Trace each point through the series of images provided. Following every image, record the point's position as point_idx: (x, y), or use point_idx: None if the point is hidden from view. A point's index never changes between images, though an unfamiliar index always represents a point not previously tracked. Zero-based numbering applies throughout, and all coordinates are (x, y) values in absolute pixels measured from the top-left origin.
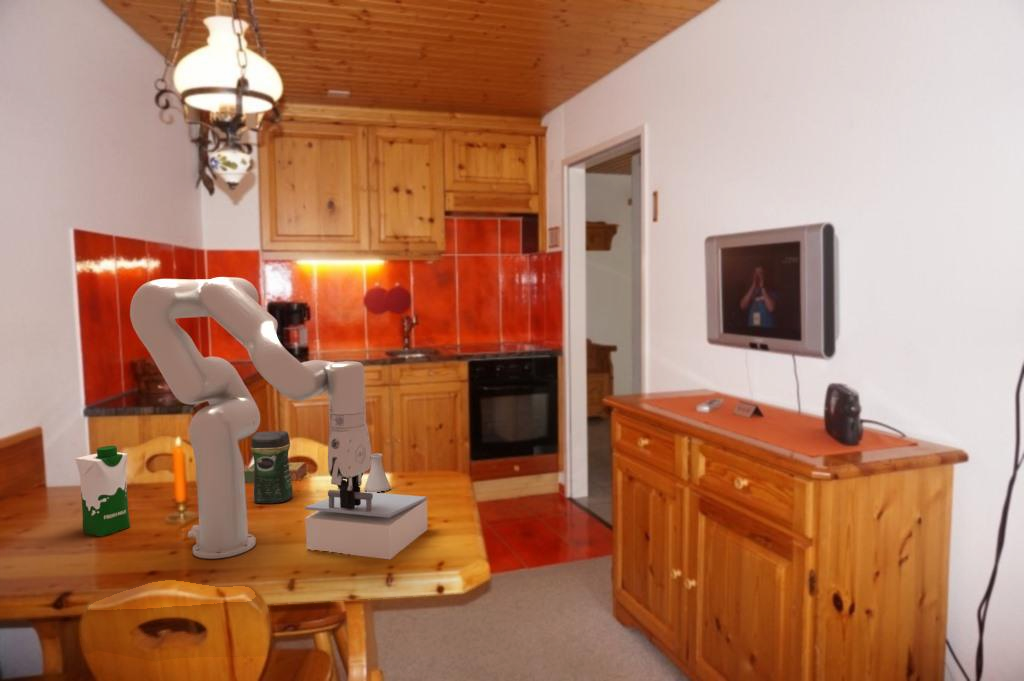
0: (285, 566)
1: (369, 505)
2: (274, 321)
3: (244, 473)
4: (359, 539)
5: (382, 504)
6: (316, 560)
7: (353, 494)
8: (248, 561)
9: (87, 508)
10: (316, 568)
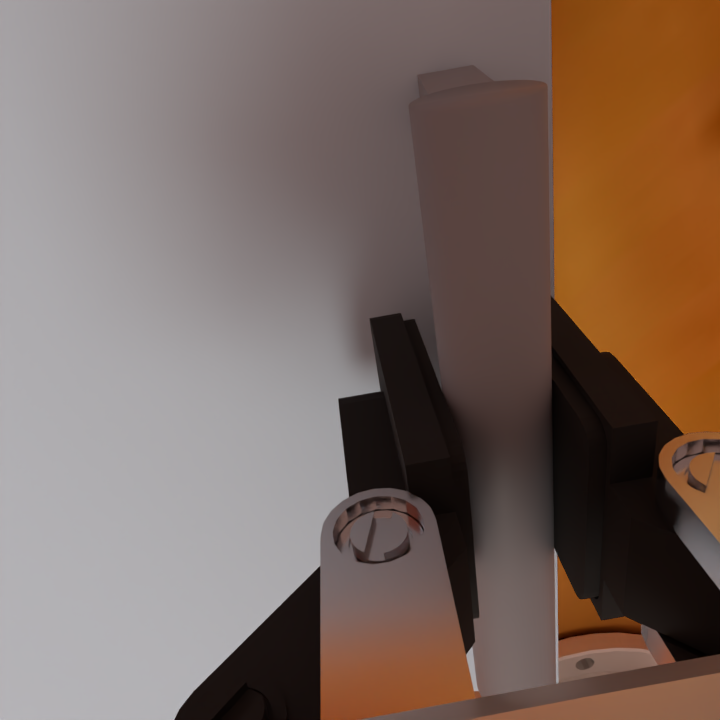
0: (700, 388)
1: (484, 80)
2: None
3: None
4: None
5: (55, 178)
6: (589, 306)
7: (607, 381)
8: None
9: None
10: (697, 220)
